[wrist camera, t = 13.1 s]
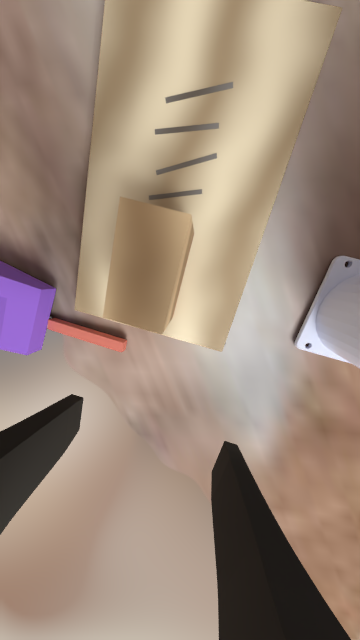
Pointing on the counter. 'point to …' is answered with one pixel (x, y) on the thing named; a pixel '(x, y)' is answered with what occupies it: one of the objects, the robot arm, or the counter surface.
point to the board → (198, 136)
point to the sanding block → (147, 264)
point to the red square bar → (87, 334)
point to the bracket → (23, 310)
